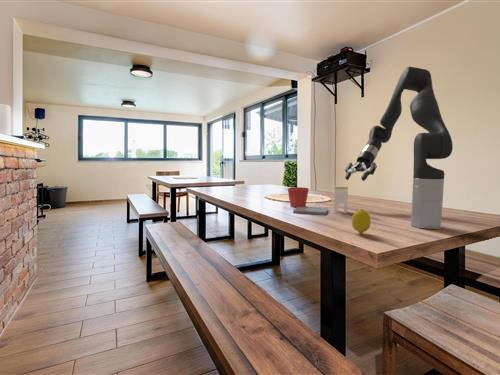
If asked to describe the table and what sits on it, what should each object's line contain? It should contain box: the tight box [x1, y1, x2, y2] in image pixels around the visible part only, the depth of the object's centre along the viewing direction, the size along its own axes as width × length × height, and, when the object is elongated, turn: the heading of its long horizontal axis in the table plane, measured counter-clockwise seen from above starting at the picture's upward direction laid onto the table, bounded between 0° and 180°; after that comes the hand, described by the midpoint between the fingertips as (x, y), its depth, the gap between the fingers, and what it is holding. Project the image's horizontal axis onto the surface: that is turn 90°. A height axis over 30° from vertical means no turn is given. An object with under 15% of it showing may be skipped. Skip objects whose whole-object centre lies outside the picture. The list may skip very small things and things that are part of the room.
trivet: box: [292, 206, 329, 216], centre depth 129 cm, size 14×14×1 cm
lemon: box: [351, 208, 372, 235], centre depth 88 cm, size 6×6×8 cm
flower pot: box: [287, 186, 310, 208], centre depth 145 cm, size 11×11×10 cm
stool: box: [333, 185, 349, 214], centre depth 128 cm, size 6×6×12 cm
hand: (354, 179), depth 134 cm, fingers open, 8 cm apart
